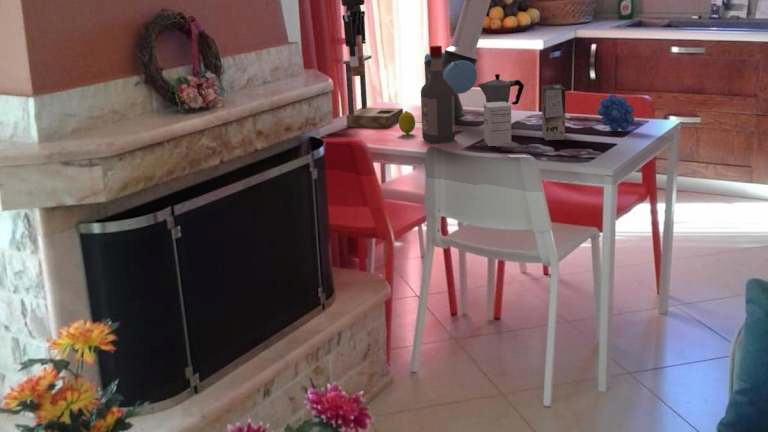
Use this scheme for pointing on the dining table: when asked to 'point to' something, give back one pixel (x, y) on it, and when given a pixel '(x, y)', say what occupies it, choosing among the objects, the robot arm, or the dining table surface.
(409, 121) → the lemon
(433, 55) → the liquor
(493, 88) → the coffeepot
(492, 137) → the supplement box
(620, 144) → the dining table surface
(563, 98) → the coffee box
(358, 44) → the peg
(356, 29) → the robot arm
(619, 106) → the blue flower
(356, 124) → the socket awning
